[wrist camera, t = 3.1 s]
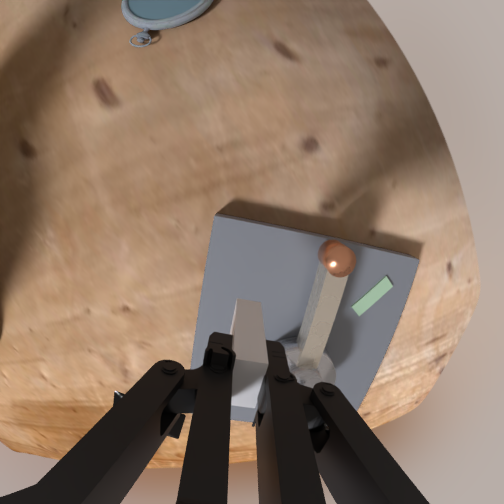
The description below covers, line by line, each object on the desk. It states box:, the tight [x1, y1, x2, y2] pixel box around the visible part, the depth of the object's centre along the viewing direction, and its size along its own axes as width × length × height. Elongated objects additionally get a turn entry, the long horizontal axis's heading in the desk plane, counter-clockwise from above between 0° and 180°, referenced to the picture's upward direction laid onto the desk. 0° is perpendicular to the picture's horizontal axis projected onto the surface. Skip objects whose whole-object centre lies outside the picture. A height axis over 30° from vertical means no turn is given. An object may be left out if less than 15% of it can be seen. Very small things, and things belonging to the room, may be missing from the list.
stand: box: [190, 213, 419, 422], centre depth 28 cm, size 20×22×2 cm
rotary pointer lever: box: [278, 240, 356, 388], centre depth 25 cm, size 7×23×5 cm, turn 168°
